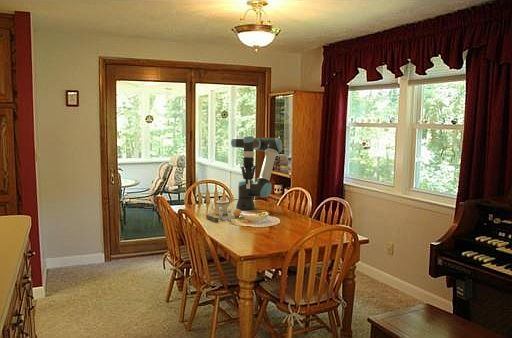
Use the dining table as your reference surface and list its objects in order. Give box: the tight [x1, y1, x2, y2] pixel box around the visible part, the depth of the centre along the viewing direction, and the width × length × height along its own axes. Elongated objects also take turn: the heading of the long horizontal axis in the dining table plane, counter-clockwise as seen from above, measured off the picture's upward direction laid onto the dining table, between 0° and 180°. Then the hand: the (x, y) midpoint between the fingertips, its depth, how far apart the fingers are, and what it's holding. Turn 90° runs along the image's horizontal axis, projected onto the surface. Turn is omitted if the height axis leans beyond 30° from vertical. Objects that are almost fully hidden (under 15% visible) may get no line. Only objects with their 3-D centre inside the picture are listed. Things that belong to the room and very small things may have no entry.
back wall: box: [205, 213, 219, 223], centre depth 322 cm, size 14×2×3 cm, turn 35°
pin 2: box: [227, 208, 232, 222], centre depth 321 cm, size 2×2×8 cm
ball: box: [233, 209, 242, 217], centre depth 333 cm, size 6×6×6 cm
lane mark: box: [218, 215, 240, 221], centre depth 330 cm, size 18×8×1 cm, turn 125°
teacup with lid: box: [211, 198, 228, 216], centre depth 344 cm, size 12×9×12 cm
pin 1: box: [218, 207, 224, 220], centre depth 325 cm, size 2×2×8 cm
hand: (248, 188), depth 337 cm, fingers closed
